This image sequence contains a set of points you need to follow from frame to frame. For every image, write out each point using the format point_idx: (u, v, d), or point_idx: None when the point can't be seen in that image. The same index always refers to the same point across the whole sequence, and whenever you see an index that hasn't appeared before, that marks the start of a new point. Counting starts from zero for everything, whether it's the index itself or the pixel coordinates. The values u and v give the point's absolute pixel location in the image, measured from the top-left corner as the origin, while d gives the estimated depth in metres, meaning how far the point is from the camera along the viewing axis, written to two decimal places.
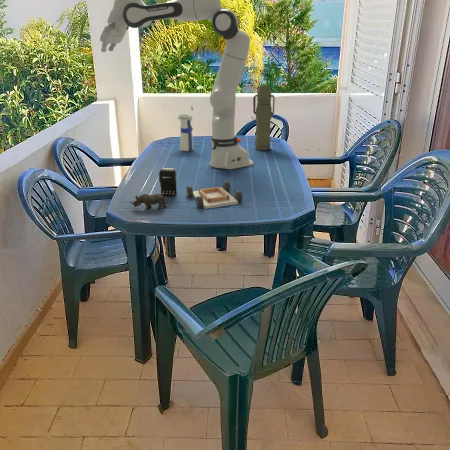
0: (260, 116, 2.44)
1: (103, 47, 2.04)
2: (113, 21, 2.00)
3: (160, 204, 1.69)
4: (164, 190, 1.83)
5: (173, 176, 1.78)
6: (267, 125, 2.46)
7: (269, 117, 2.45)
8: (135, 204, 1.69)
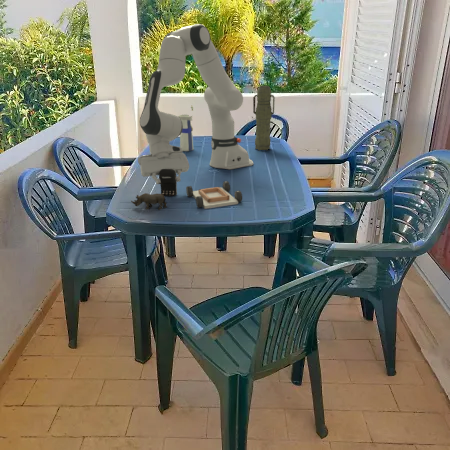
0: (260, 116, 2.44)
1: (155, 179, 1.80)
2: None
3: (160, 204, 1.69)
4: (164, 190, 1.83)
5: (173, 176, 1.78)
6: (267, 125, 2.46)
7: (269, 117, 2.45)
8: (136, 203, 1.70)
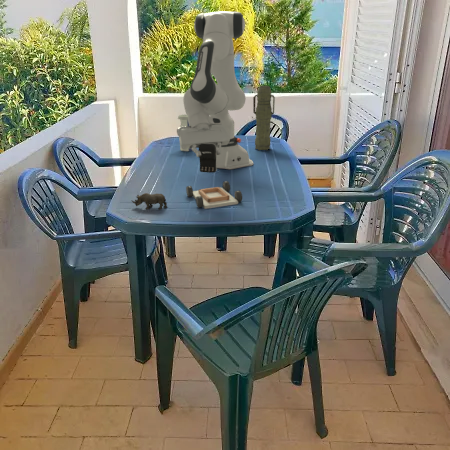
0: (260, 116, 2.44)
1: (195, 152, 1.71)
2: None
3: (160, 204, 1.69)
4: (203, 166, 1.75)
5: (213, 151, 1.70)
6: (267, 125, 2.46)
7: (269, 117, 2.45)
8: (136, 203, 1.70)
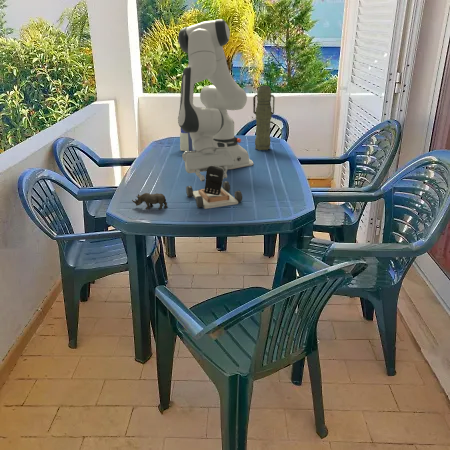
0: (260, 116, 2.44)
1: (199, 176, 1.75)
2: None
3: (160, 204, 1.69)
4: (208, 187, 1.78)
5: (221, 175, 1.73)
6: (267, 125, 2.46)
7: (269, 117, 2.45)
8: (136, 202, 1.70)
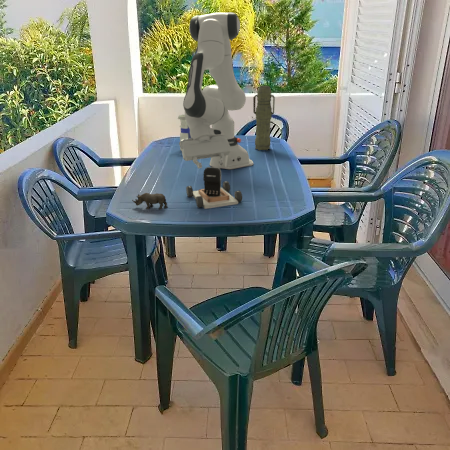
0: (260, 116, 2.44)
1: (196, 163, 1.77)
2: None
3: (160, 204, 1.69)
4: (207, 190, 1.79)
5: (218, 175, 1.75)
6: (267, 125, 2.46)
7: (269, 117, 2.45)
8: (136, 202, 1.71)
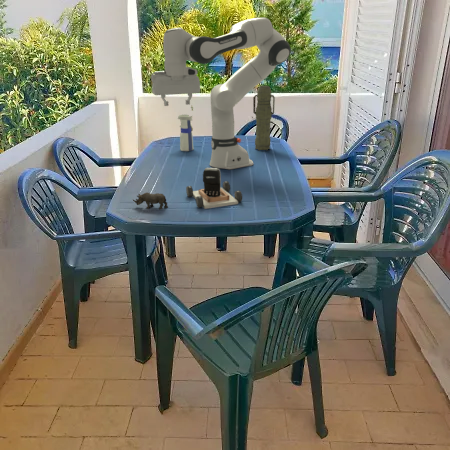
0: (260, 117, 2.44)
1: None
2: None
3: (160, 204, 1.69)
4: (207, 190, 1.79)
5: (217, 176, 1.74)
6: (267, 125, 2.46)
7: (269, 117, 2.45)
8: (137, 202, 1.71)
